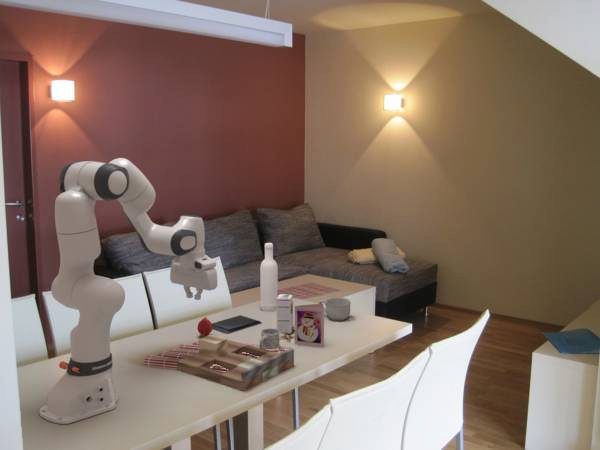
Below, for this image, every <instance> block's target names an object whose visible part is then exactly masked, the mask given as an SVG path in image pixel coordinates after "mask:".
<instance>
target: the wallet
mask: <svg viewBox="0 0 600 450" xmlns="http://www.w3.org/2000/svg"><path fill="white" fill-rule="evenodd" d="M211 323H212V331H217V332H220V333H222V334H225V335H229V334H232V333H236V332H239V331H242V330H245V329H249V328H252V327H255V326H258V325H261V324H263V322H262V321H260V320H258V319H254V318H252V317H251V318H250V317H248V316H244V315H241V314H240V315H237V316H233V317H229V318H226V319H222V320H218V321H216V322H211Z"/></svg>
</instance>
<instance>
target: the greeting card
mask: <svg viewBox="0 0 600 450" xmlns="http://www.w3.org/2000/svg"><path fill="white" fill-rule="evenodd" d="M323 308H324V302H321V304H319V303H313V304H303V305H302V304H301V305H294V345H298V346H306V347H317V348H325V311H324V309H323Z"/></svg>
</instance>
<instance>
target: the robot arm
mask: <svg viewBox="0 0 600 450" xmlns="http://www.w3.org/2000/svg"><path fill="white" fill-rule="evenodd" d="M58 180H59V181H58V182H59V193H60V194H59V195H57V196H56V198H55V202H54V223H55V224H54V225H55V231H56V236H57V242H58V248H59V255H60V256H59V257H60V259H59V260H60V261H59V264H60V265H59V270H58V274H57V275H56V277H55V278H54V279H53V281H52V283H51V286H50V287H51V289H50V291H51V296H52V297H53V299H54V300H55V301H57V303H59V304H61V305H62V306H64V307H66V308H69V309H73V310H76V311H78V312H79V318H78V323H77V325H76V326H75V327H73V328H72V329H71V331H70V334H69V340H70V341H69V342H70V357H69V361H68V362H65V361H64V360H62V361H60V362H59V364H58V366H59V368H60V369H62V370H66V372H65V373H64V374H63V375H62V377H61V378H59V380H58V381H57V382H56V383H55V384H54V385H53V386H52V387H51V388H50V390H49V391H48V394H47V402H46V404H45V405H42V407H39V410H38V411H39V412H38V413H39V415H40V417H41V418H43V419H44V420H47V421H48V422H51V423H55V424H61V425H69V424H72V423H74V422H77V421H81V420H84V419H87V418H90V417H93V416H96V415H99V414H103V413H106V412H109V411H112V410H114V409H116V403H117V402H118V400H119V395H118V392H117V389H116V387H115V386H116V385H115V382H114V378H113V376H114V375H113V370H112V368H113V354H112V353H111V326H112V321H113V319H114V317H115V315H116V314H118V312H119V311H120V310H122V307H123V306H124V303H125V300H126V292H125V289H124V287H123V285H121V284H120V283H119V282H117V281H115V280H113V279H112V278H109V277H105V276H101V275H96V274H95V271H94V264H95V260H96V259H98V258H99V256H100V255H101V252H102V251H101V250H102V248H101V243H100V241H101V240H100V234H99V230H98V223H97V218H96V214H95V206H96V202H97V201H108V202H109V201H115V200H117V202H119V203H120V205H121V210H122V212H123V214H124V216H125V218H127V220H128V222H129V224H130V226H131V227H132V228H133V230H134V231H135V232H136V234H137V236H138V239H139V241H140V244H141V247H142V249H143V250H144V251H145V252H146V253H148V254H151V255H153V254H154V255H157V254H158V255H164V256H174V258H172V260H171V266H170V273H169V280H170V282H171V283H172V284H175V285H181V286H183V289H184V292H185V295H186V296H185V297H186V298H188V299H192V298H193V297H194V298H193V299H194V300H196V301H199V300H201V298H202V294H203V291H204V290H205V291H214V290H216V289H217V287H218V272H217V271H218V270H217V269H216V267H217V261H216V260H215V259H214V258H211V257H209V255H208V254H206V249H205V241H206V234H205V225H204V220H203V218H202V217H200V216H199V215H193V214H183V215H181V216H180V217H179V220H178V222H176V223H175V224H174V225H172V226H167V225H166V226H164V225H160V224H157V223H154V222H153V221H152V220H151V218H150V217H149V215H148V213H147V212H149V210H150V209H151V208H152V207H153V205H154V204H155V201H156V197H157V196H156V191H155V188H154V186H153V185H152V184H151V182H150V181H149V179H148V178H147V176H146V175H145V174H144V173H143V172H142V171H141V170H140V169H139V167H137V166H136V165H135V164H134V163H133V162H131V161H130V160H129V159H127V158H124V157H118V158H114V159H112V160H111V161H109V162H101V161H95V160H89V161H88V160H87V161H85V160H84V161H80V160H76V161H72V162H69V163H68V164H65V166H64V167H63V168H62V169H61V170H60V175H59V179H58ZM191 288H195V291H196V293H195V294H193V292H192V291H191Z"/></svg>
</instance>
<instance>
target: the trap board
mask: <svg viewBox="0 0 600 450" xmlns="http://www.w3.org/2000/svg"><path fill="white" fill-rule="evenodd" d="M227 348H228V353H226V354H223V355H221V356H219V357H216V358H215V357H211V356H208V355H204V354H201V353H199V351H198V352H196V353H193V354H191V355H189V356H186V357H184V358H180V359H179V360H177V361H176V370H177V371H180V372H184V373H187V374H190V375H193V376H195V377H199V378H201V379H205V380H208V381H212V382H215V383H217V384H219V385H220V384H221V385H224V386H227V387H230V388H233V389H236V390H239V391H242V392H246V391H248V390H250V389H252V388H254V387H256V386H257V385H259V384H261V383H263V382H265V381H267V380H269V379H271V378H273V377H275V376H277V375H279V374H280V373H281V374H282V372H285V371H287V370H288V369H291V368H292V367H294V366H295V349H294V348H289V349H287V350H285V351H283V352H280V353H278V352H276V351H273V352H272V351H268V350H264V349H260V347H256V346H252V345H249V344H245V343H242V342H237V341H234V340H230V339H227ZM242 352H246V353H249V354H252V355H255V356H259V357H258V358H254V357H250V356H247V355H239V354H241V353H242ZM213 364H217V365H220V366H222V367H224V368H226V369H228V370H229V371H225V372H223V371H220V370H218V369H215V368H212V369H211V368H210V366H212V365H213Z"/></svg>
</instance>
